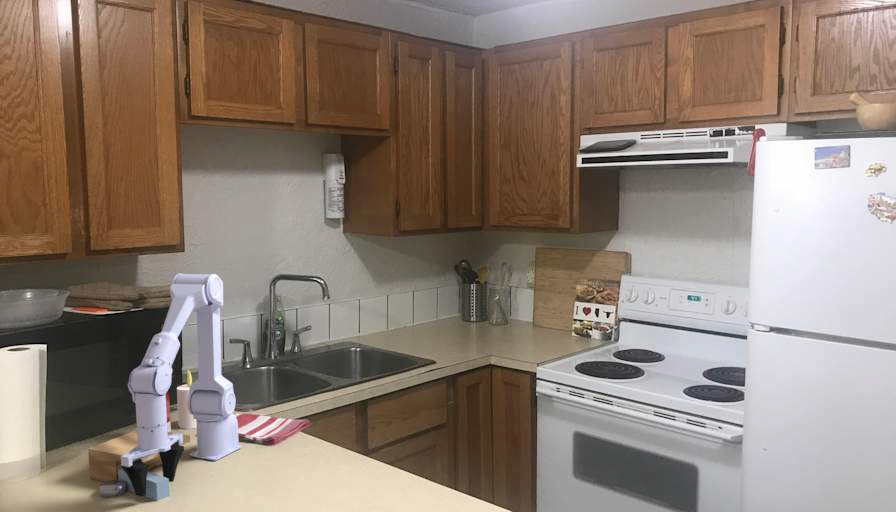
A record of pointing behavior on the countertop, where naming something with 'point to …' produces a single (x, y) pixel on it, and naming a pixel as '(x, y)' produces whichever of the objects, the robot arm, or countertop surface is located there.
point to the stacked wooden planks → (118, 456)
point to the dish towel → (267, 428)
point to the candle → (185, 405)
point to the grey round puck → (112, 488)
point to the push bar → (149, 485)
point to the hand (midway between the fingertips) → (155, 487)
